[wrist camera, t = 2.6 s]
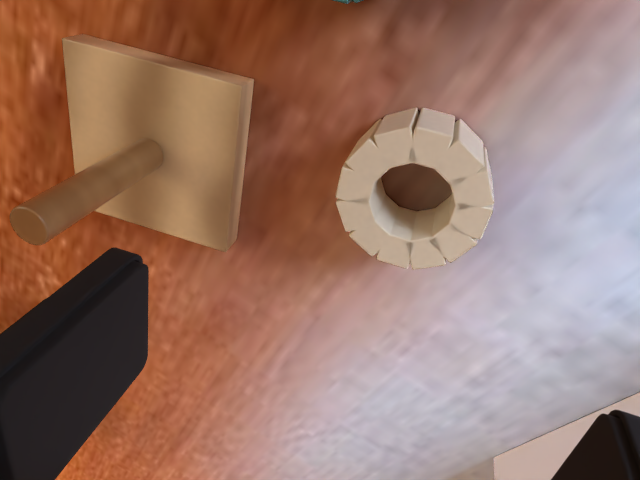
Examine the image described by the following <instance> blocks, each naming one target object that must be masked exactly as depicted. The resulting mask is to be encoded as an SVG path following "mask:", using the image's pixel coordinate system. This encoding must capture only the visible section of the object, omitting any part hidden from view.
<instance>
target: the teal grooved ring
mask: <svg viewBox="0 0 640 480" xmlns="http://www.w3.org/2000/svg"><path fill="white" fill-rule="evenodd" d="M333 1H337V2H341V3H346V4H348V3H351V2H354V3H358V2H361V1H363V0H333Z"/></svg>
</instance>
